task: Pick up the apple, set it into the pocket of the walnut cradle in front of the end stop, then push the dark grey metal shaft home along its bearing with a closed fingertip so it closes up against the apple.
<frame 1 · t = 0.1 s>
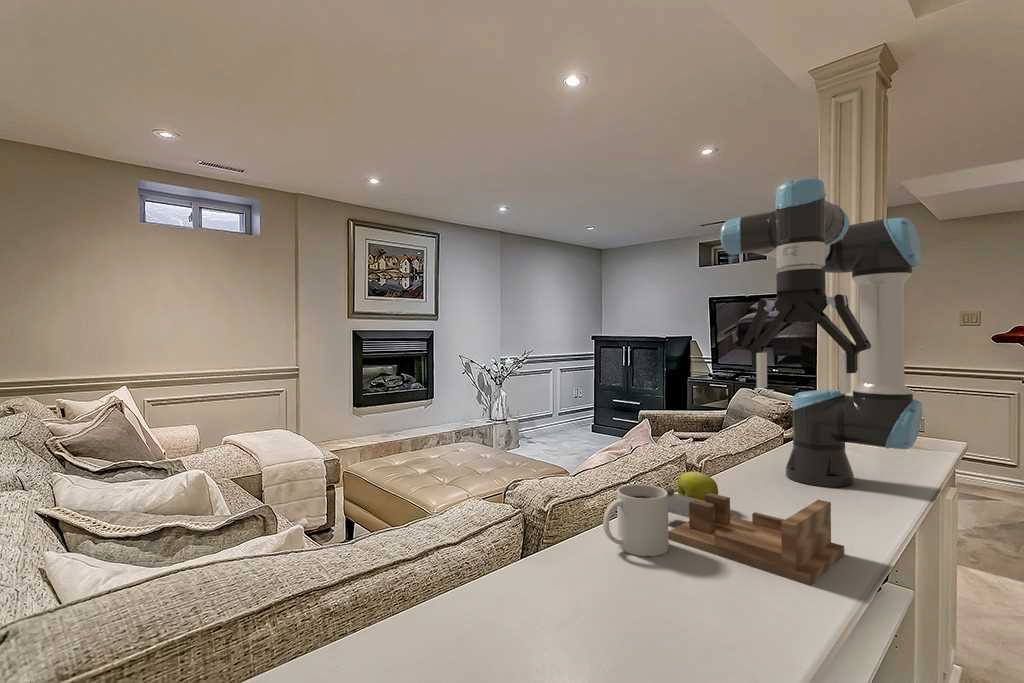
hand: (801, 390, 89), 28 cm above the counter, fingers open, 13 cm apart
cradle: (752, 546, 91), on the counter
mug: (637, 547, 91), on the counter
apple: (696, 509, 111), on the counter
shaft: (685, 506, 100), point 4 cm above the counter, slide at 0.0 cm
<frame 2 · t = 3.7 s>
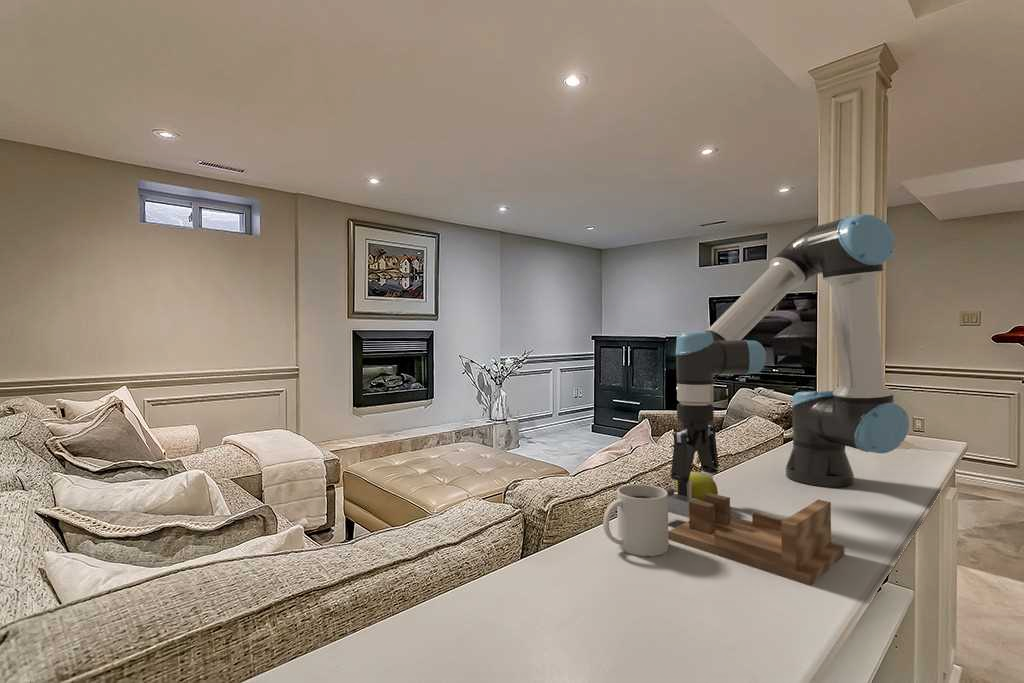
hand: (696, 506, 111), 1 cm above the counter, fingers closed on apple, 8 cm apart
apple: (695, 510, 110), on the counter, touching gripper
everything else where it was.
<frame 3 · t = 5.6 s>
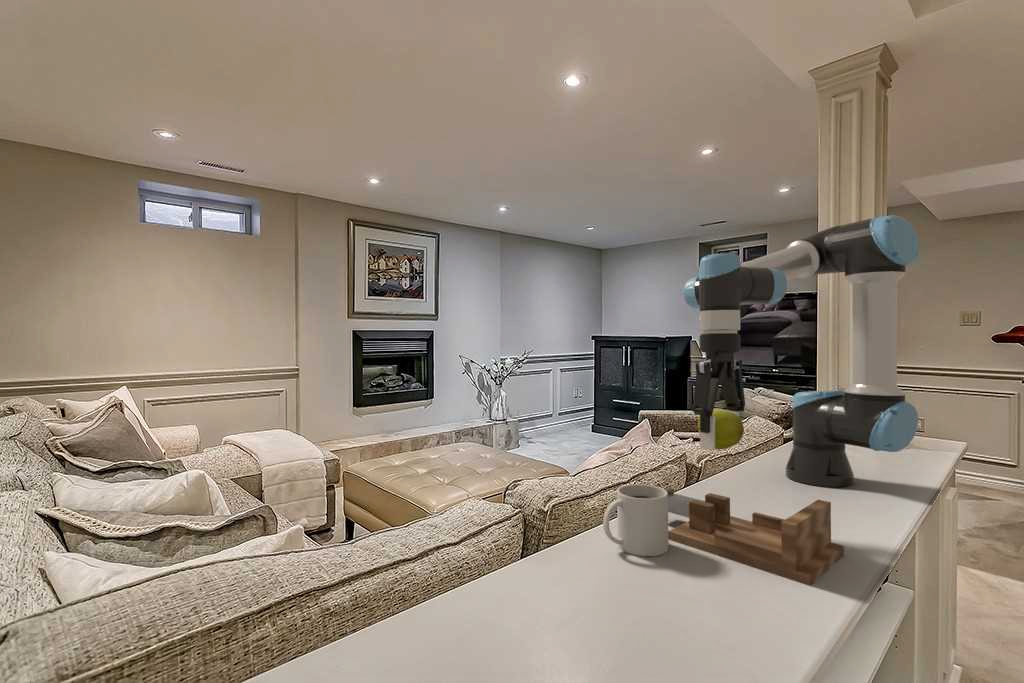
hand: (720, 445, 101), 16 cm above the counter, fingers closed on apple, 8 cm apart
apple: (718, 449, 101), point 15 cm above the counter, touching gripper
everything else where it was.
when the fingers open (4 cm above the counter, at t = 8.0 s): apple drops 2 cm, resting on cradle.
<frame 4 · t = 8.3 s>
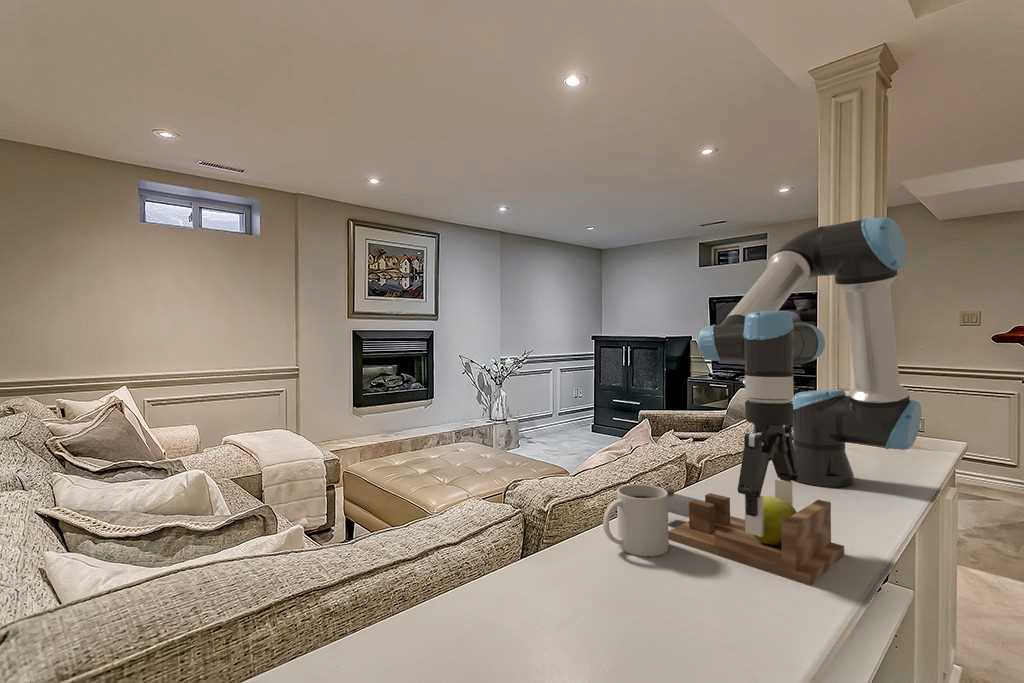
hand: (769, 524, 88), 5 cm above the counter, fingers open, 11 cm apart
apple: (770, 544, 88), point 1 cm above the counter, touching cradle
everything else where it was.
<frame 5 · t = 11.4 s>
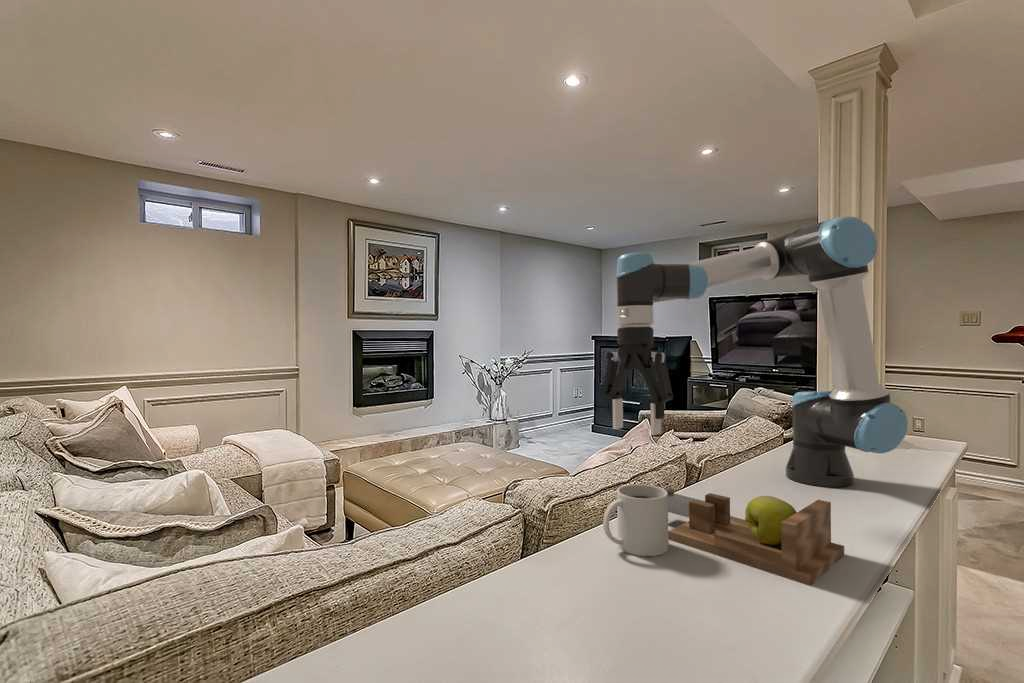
hand: (636, 431, 109), 17 cm above the counter, fingers open, 9 cm apart
nothing on the counter moved.
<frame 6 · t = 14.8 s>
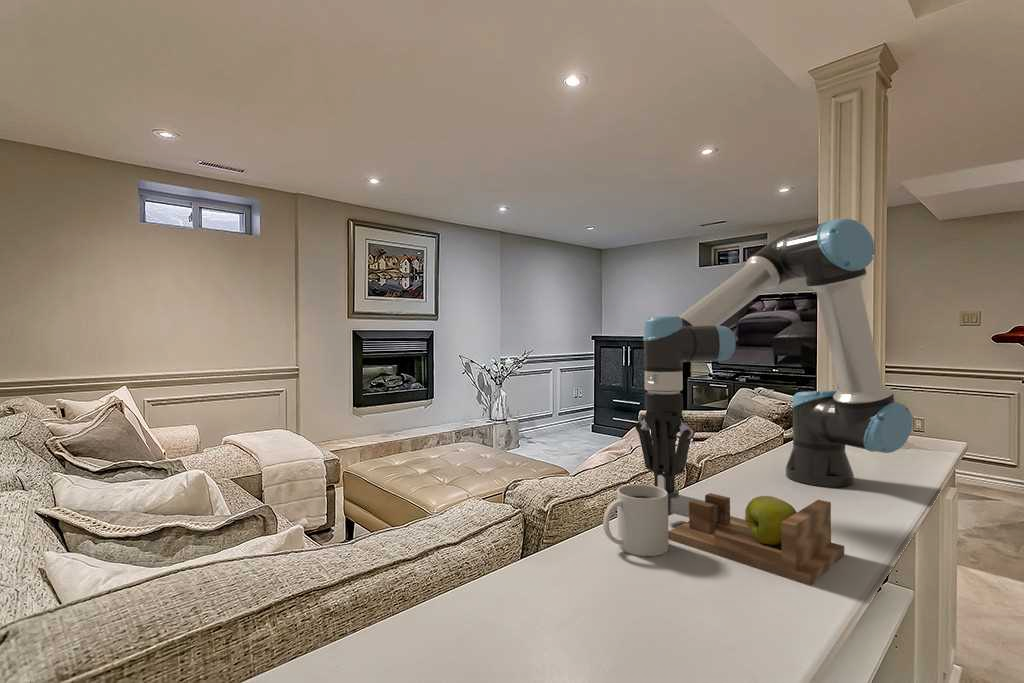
hand: (664, 506, 104), 3 cm above the counter, fingers closed
shaft: (690, 507, 100), point 4 cm above the counter, slide at 1.2 cm, touching gripper
everything else where it was.
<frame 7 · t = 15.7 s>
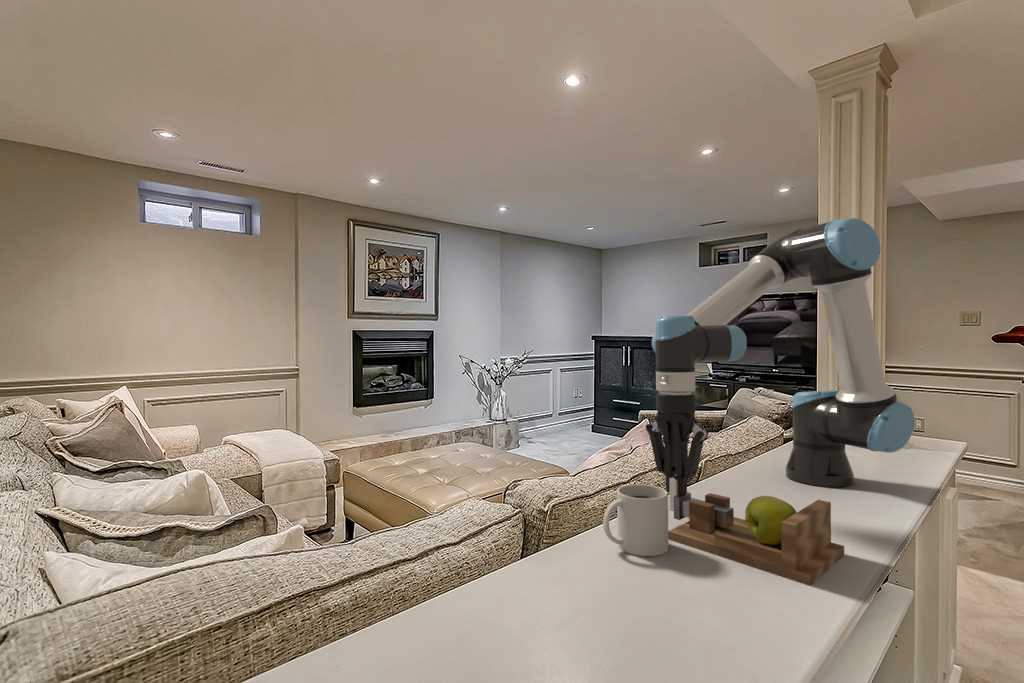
hand: (676, 509, 102), 3 cm above the counter, fingers closed
shaft: (703, 511, 98), point 4 cm above the counter, slide at 3.9 cm, touching gripper
everything else where it was.
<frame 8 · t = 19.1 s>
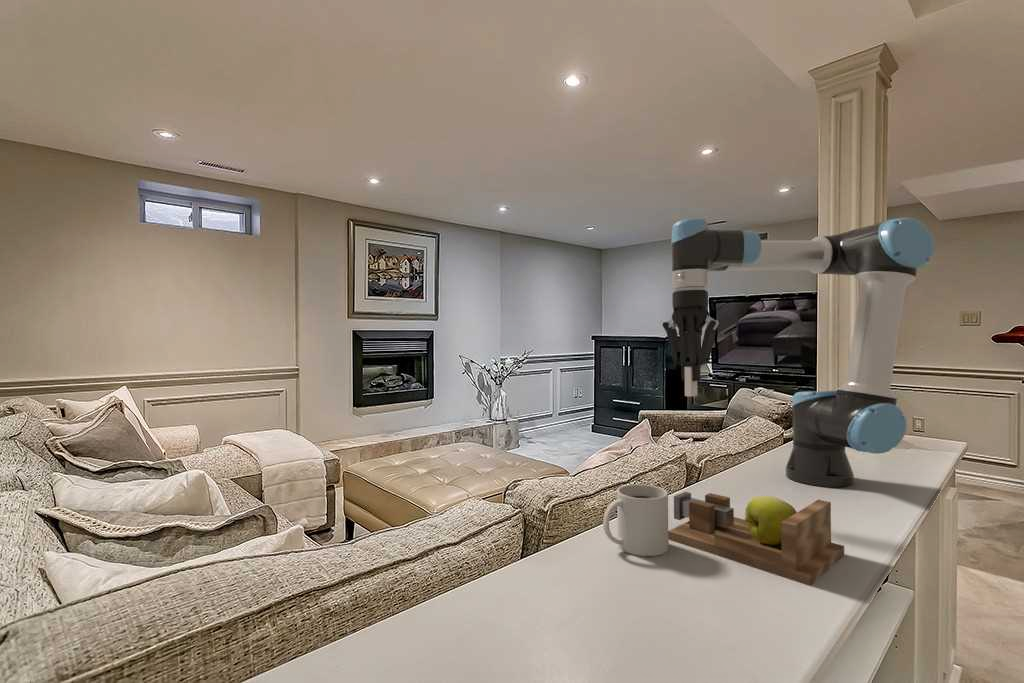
hand: (691, 395, 113), 24 cm above the counter, fingers closed
shaft: (703, 511, 98), point 4 cm above the counter, slide at 3.9 cm
everything else where it was.
at the end: apple inside the target area on the cradle (0.8 cm from its centre), point 1.3 cm above the cradle's base; shaft slide at 3.9 cm; the gripper is holding nothing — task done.
